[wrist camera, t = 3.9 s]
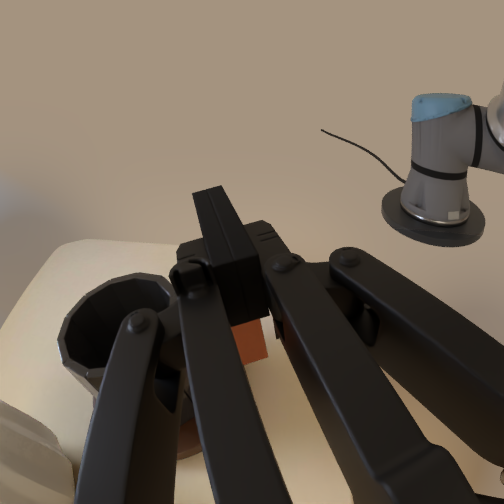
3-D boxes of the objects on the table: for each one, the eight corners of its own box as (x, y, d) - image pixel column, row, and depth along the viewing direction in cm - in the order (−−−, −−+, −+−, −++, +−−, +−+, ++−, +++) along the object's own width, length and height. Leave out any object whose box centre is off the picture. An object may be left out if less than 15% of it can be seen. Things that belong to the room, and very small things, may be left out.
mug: (151, 322, 33) (118, 258, 28) (273, 348, 28) (258, 273, 23) (94, 405, 24) (38, 348, 19) (225, 466, 19) (181, 423, 13)
